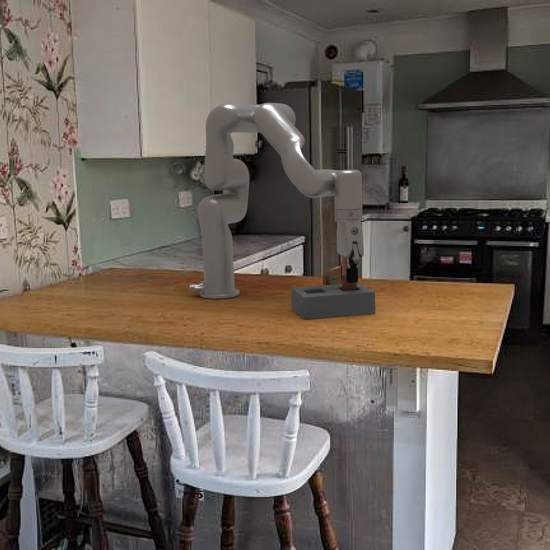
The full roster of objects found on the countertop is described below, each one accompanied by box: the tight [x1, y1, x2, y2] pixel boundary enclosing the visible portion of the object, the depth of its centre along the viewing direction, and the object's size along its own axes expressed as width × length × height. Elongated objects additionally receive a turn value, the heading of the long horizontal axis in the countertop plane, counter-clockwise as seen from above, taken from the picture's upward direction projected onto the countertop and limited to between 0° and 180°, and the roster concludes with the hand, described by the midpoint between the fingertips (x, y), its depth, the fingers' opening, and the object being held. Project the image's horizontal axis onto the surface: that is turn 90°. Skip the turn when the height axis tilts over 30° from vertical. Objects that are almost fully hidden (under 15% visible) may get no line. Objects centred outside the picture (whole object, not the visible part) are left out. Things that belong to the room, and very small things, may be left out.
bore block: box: [290, 282, 376, 320], centre depth 193 cm, size 20×14×6 cm
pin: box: [342, 255, 358, 291], centre depth 193 cm, size 4×4×12 cm
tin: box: [322, 265, 342, 286], centre depth 217 cm, size 15×3×8 cm, turn 144°
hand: (349, 280), depth 193 cm, fingers closed on pin, 4 cm apart
